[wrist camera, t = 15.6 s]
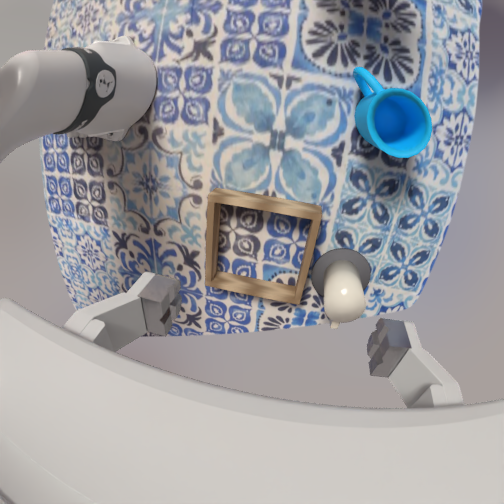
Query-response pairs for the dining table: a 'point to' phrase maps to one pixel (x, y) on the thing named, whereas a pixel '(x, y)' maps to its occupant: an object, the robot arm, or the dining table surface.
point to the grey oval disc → (336, 256)
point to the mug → (391, 117)
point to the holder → (246, 283)
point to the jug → (343, 293)
